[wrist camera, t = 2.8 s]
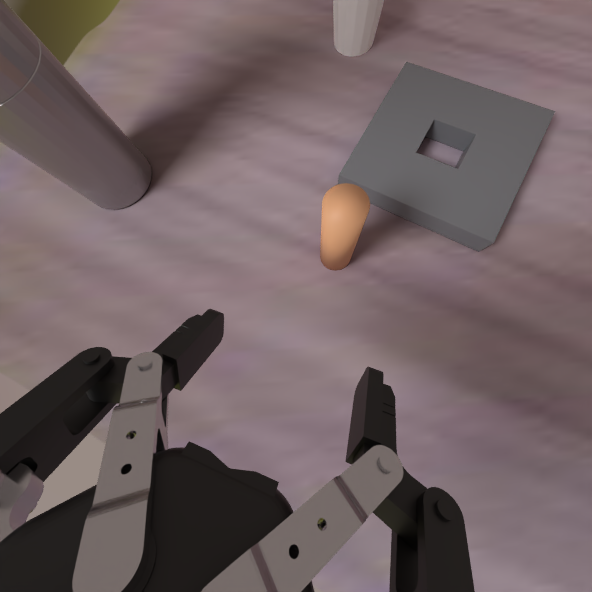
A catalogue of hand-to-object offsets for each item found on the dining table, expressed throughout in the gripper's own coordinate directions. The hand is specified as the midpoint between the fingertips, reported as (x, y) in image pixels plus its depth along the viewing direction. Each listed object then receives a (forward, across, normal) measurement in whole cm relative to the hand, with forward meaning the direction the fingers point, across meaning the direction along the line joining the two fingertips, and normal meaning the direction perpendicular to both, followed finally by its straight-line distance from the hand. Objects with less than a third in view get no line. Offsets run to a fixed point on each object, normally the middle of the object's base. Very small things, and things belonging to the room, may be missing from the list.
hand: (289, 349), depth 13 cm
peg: (+19, 0, +2) cm, 19 cm away
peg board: (+30, -8, -9) cm, 32 cm away
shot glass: (+41, +8, -20) cm, 47 cm away
